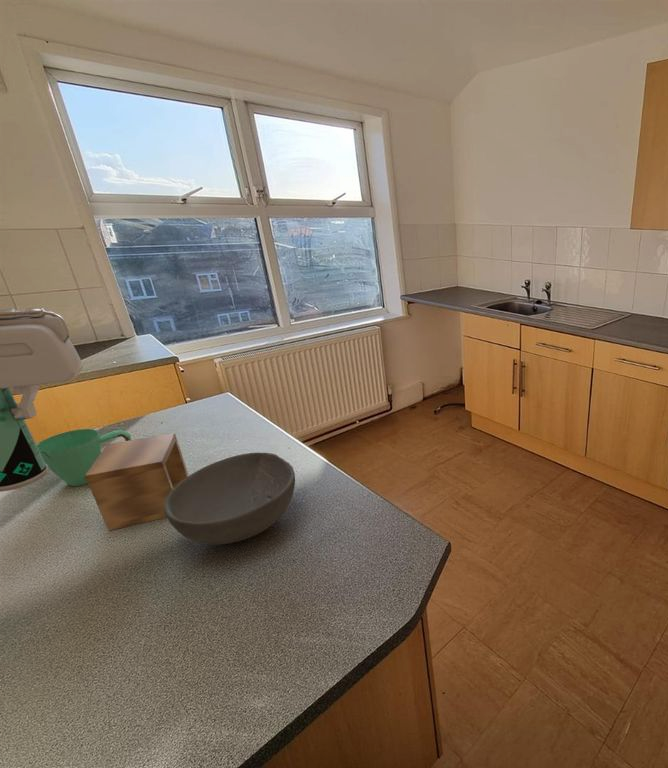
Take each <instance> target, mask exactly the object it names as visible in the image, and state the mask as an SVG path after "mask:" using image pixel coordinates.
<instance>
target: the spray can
mask: <svg viewBox="0 0 668 768" xmlns="http://www.w3.org/2000/svg"><path fill="white" fill-rule="evenodd" d="M10 389H11V388H4V389H0V492H8V491H13V490H17V489H20V488H24V487H27V486H29V485H32V484H34V483H36V482H38V481H40V480H41V479H43V478H45V477H46V475H47V474H48V473H49V468H48V466H47V465H46V463H45V462H44V460H43V458H42V455H41V453H40V451H39V449H38V447H37V442H36V441H35V439H34V437H33V435H32V432H31V431H30V429H29V426H28V425H27V422H26V419H24V420H15V419H14V415H13V414H12V413H11V411H10V408H12V407H14V406H15V405H16V404H17V402H16V399H15V397H14V396H13V393H12V392H11V390H10Z"/></svg>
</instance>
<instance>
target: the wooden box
mask: <svg viewBox="0 0 668 768" xmlns="http://www.w3.org/2000/svg"><path fill="white" fill-rule="evenodd" d="M188 476H189V472H188V469H187V466H186V463H185V459H184V455H183V453H182V449H181V447H180V445H179V441H178V438H177V434H176V432H171V433H165V434H160V435H154V436H153V435H152V436H148V437H142V438H135V439H131V440H129V441H125V440H123V441H118V442H112V443H111V442H110V443H107V444H106V445H105V447H104V448H103V449H102V450H101V454H100V455H99V456H98V458H97V459H96V461H95V462H94V463H93V465H92V466H91V468H90V469H89V470H88V472H87V473H86V475H85V478H86V480H87V482H88V484H87V485H88V487H89V489H90V491H91V494H92V496H93V499H94V501H95V503H96V505H97V507H98V510H99V512H100V515H101V517H102V519H103V522H104V524H105V525H106V528H107V531H113V530H118V529H122V528H126V527H130V526H131V527H132V526H135V525H140V524H143V523H147V522H152V521H156V520H161V519H164V518H167V517H166V515H165V512H164V502H165V500H166V498H167V496H168V494H169V493H170V492H171V491H172V489H173V488H174V487H175V486H176V485H177V484H179V483H180V482H181V481H182V480H184V479H185V478H187V477H188Z"/></svg>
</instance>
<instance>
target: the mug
mask: <svg viewBox="0 0 668 768" xmlns="http://www.w3.org/2000/svg"><path fill="white" fill-rule="evenodd" d="M121 437H122V438H123V439H124V441H129V440H132V437H131V433H130V432H127V431H125V430H123V429H117V430H114V431H110V432H107V433H104V434H102V435H100V432H99V431H98V429H94V428H81V429H80V428H79V429H73V430H69V431H68V430H67V431H64V432H59V433H58V434H54V435H51V436H49V437H46V438H44V439H42V440H41V441H39V442H38V443H36V445H37V447H38V449H39V451H40V453H41V455H42V458H43V460H44V462H45V464H46V466H47V468H48V469H49V470H50V471H51V472H52V473H54V475H55V476H57V477H58V478H59V479H61V480H62V481H63V482H64V483H66V484H67V485H69V486H71V487H80V486H85V485H88V482H87V480H86V478H85V475H86V473H87V472H88V470H89V469H90V468H91V466H92V465H93V463H94V462H95V461H96V459H97V458H98V456H99V455H100V454H101V452H102V447H101V444H103V443H105V442H107V441H110V440H112V439H115V438H116V439H117V438H121Z"/></svg>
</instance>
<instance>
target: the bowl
mask: <svg viewBox="0 0 668 768" xmlns="http://www.w3.org/2000/svg"><path fill="white" fill-rule="evenodd" d="M188 475H189V474H188ZM295 485H296V473H295V470H294V467H293V465H291V463H289V462H288V461H287V460H285V459H284V458H282V457H280V456H279V455H277V454H275V453H271V452H247V453H242V454H237V455H233V456H230V457H226V458H224V459H220V460H218V461H216V462H213V463H211V464H209V465H206V466H204V467H202V468H200V469H198V470H196V471H194V472H193V473H191V474H190V475H189V476H188V477H187V478H185V479H184V480H182V481H181V482H180V483H179V484H177V485H176V486H175V487H174V488H173V489H172V491H171V492H170V493H169V494H168V496H167V498H166V500H165V502H164V512H165V515H166V517H165V518H166V519H167V521H168V523H170V525H171V526H172V527H173V528H174V529H175V530H176V531H177V532H178V533H179V534H181V536H183V537H185V538H187V539H189V540H191V541H193V542H196V543H199V544H200V543H201V544H205V545H214V546H215V545H228V544H233V543H237V542H241V541H244V540H247V539H249V538H250V539H251V538H252V537H254V536H256V535H259V534H260V533H262V532H264V531H265V530H267V529H269V527H271V526H272V525H273V524H275V523H276V522H277V521H278V520H280V518H281V517H282V516H283V514H284V513H285V511H286V510H287V508H288V507H289V505H290V503H291V501H292V498H293V495H294V491H295V487H296V486H295Z"/></svg>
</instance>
